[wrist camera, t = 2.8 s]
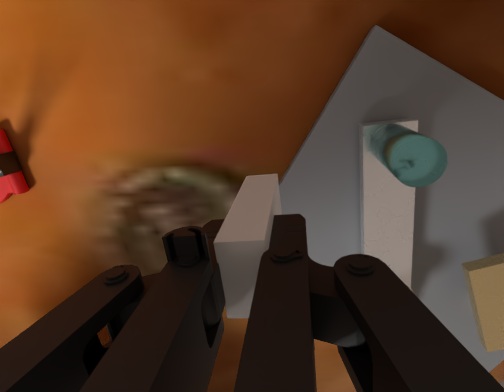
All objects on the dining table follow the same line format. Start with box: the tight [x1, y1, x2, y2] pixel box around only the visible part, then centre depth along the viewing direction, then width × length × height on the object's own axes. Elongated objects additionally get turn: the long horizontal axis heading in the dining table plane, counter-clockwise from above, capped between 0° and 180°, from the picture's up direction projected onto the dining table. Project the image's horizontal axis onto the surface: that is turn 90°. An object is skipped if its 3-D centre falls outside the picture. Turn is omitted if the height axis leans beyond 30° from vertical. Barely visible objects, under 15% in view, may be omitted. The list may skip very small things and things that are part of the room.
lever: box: [359, 118, 448, 293], centre depth 25 cm, size 19×5×8 cm, turn 7°
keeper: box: [461, 253, 504, 352], centre depth 28 cm, size 5×8×4 cm, turn 22°
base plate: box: [279, 25, 504, 372], centre depth 30 cm, size 25×29×2 cm
